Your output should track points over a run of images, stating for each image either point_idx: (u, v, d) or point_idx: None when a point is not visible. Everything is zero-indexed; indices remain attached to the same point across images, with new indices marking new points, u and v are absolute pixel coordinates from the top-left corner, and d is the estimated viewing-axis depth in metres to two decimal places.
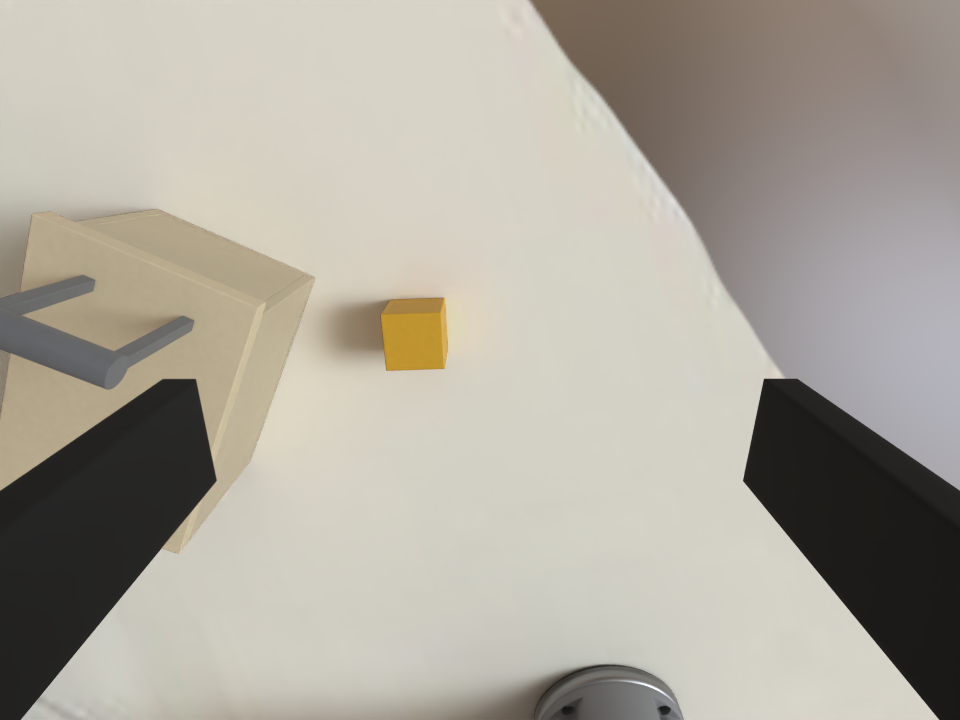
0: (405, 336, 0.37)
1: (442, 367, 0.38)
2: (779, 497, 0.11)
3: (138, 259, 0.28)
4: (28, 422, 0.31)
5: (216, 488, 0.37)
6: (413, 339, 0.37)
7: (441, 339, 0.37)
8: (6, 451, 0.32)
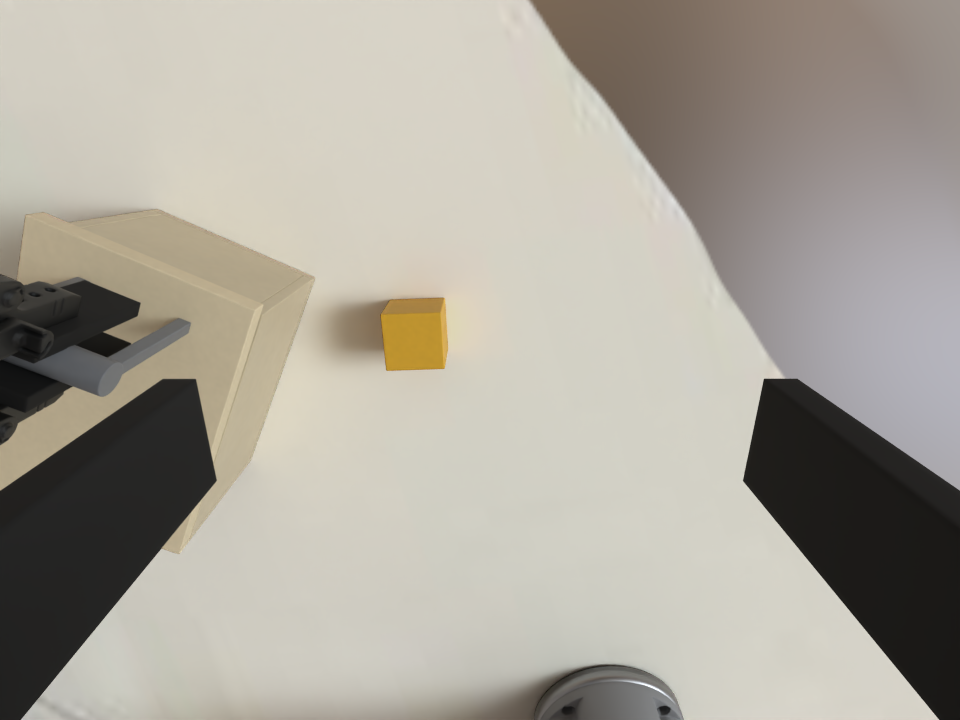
0: (405, 336, 0.37)
1: (442, 367, 0.38)
2: (779, 497, 0.11)
3: (133, 261, 0.27)
4: (25, 423, 0.31)
5: (216, 488, 0.37)
6: (413, 339, 0.37)
7: (441, 339, 0.37)
8: (5, 452, 0.31)
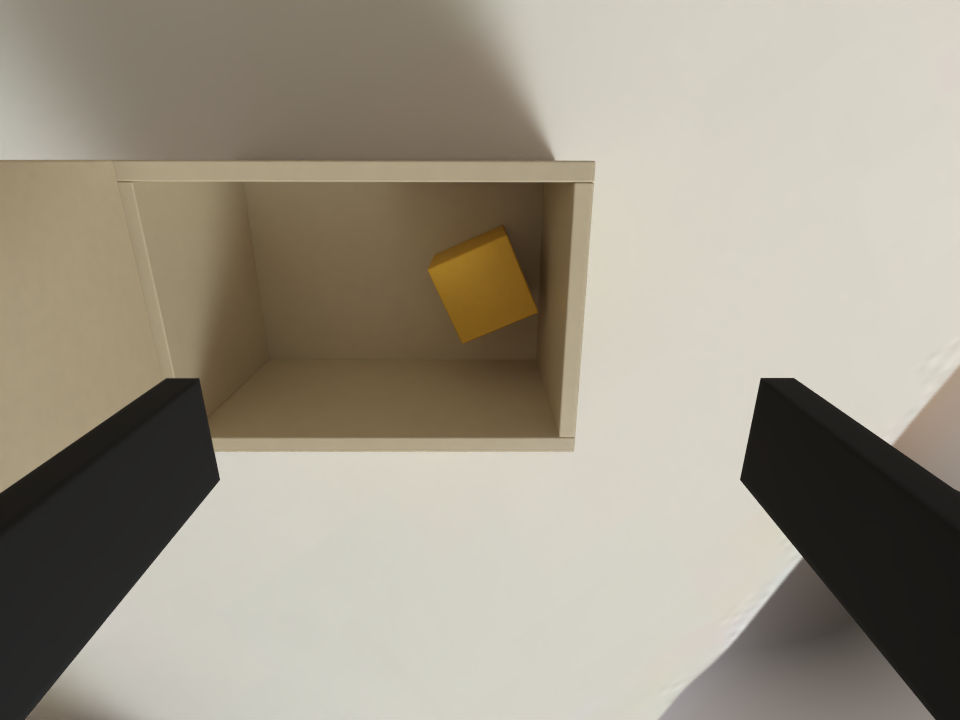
0: (488, 278, 0.26)
1: (463, 341, 0.27)
2: (775, 496, 0.11)
3: None
4: None
5: None
6: (489, 291, 0.26)
7: (501, 326, 0.26)
8: None
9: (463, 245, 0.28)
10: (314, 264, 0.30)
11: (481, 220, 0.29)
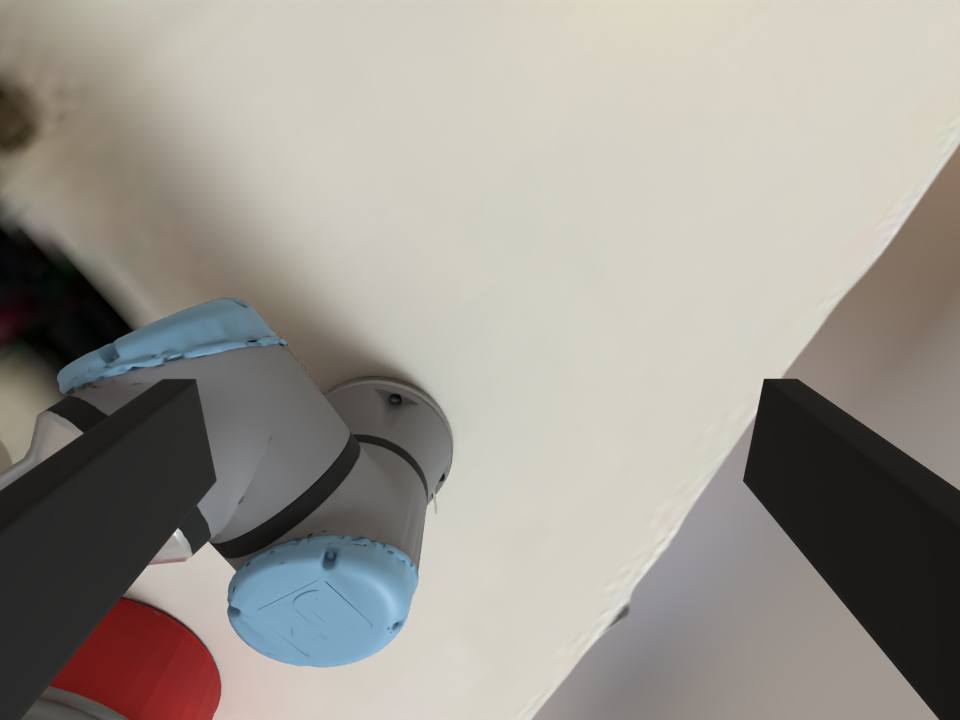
0: None
1: None
2: (779, 497, 0.11)
3: None
4: None
5: None
6: None
7: None
8: None
9: None
10: None
11: None
